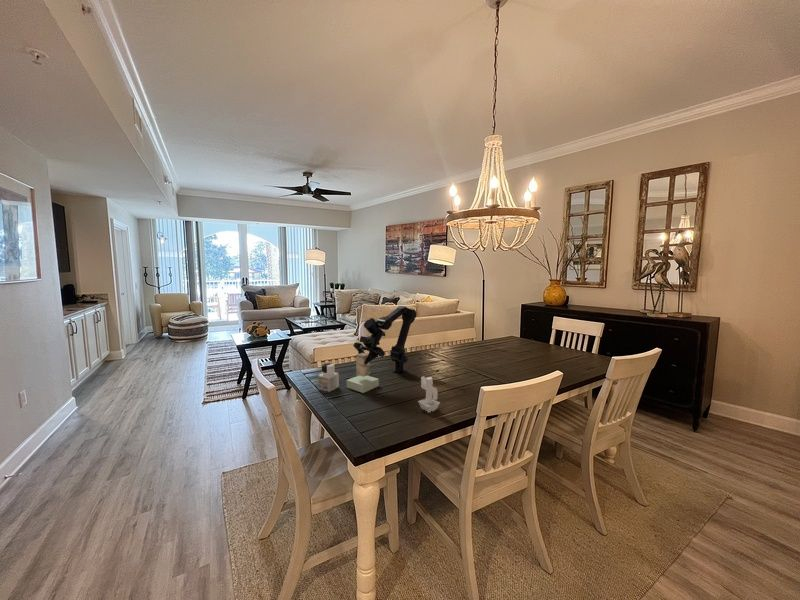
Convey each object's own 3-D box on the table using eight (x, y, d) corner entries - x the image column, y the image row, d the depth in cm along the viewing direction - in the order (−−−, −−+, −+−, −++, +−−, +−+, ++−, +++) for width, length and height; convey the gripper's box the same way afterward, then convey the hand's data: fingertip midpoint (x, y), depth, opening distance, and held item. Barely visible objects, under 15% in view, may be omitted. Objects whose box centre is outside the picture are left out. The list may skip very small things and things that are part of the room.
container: (318, 389, 174) (317, 365, 172) (327, 384, 181) (327, 361, 179) (329, 392, 170) (329, 367, 169) (339, 387, 177) (338, 363, 175)
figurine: (430, 415, 145) (430, 382, 143) (415, 408, 153) (416, 376, 151) (441, 411, 150) (442, 379, 148) (427, 404, 157) (428, 373, 155)
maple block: (362, 372, 180) (362, 352, 179) (369, 374, 177) (369, 354, 176) (356, 374, 176) (356, 354, 175) (363, 376, 173) (363, 356, 172)
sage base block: (362, 380, 186) (362, 374, 185) (378, 386, 179) (378, 378, 178) (346, 387, 176) (346, 380, 176) (363, 393, 169) (363, 385, 169)
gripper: (355, 327, 182) (340, 351, 175) (381, 332, 171) (366, 358, 164) (365, 339, 189) (351, 362, 182) (390, 344, 178) (377, 369, 171)
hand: (361, 363), depth 175 cm, fingers closed on maple block, 5 cm apart
